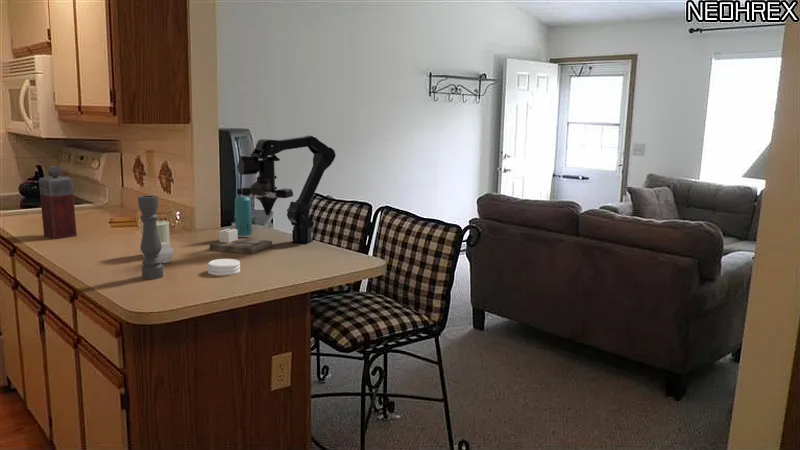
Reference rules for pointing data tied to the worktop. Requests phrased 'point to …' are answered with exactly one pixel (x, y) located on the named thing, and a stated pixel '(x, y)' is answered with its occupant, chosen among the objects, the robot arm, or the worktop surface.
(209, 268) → the white flat disc
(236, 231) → the fader knob
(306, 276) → the worktop surface
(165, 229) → the can
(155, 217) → the candle holder
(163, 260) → the muffin
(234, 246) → the fader console
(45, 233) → the red lidded canister
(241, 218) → the beverage bottle
